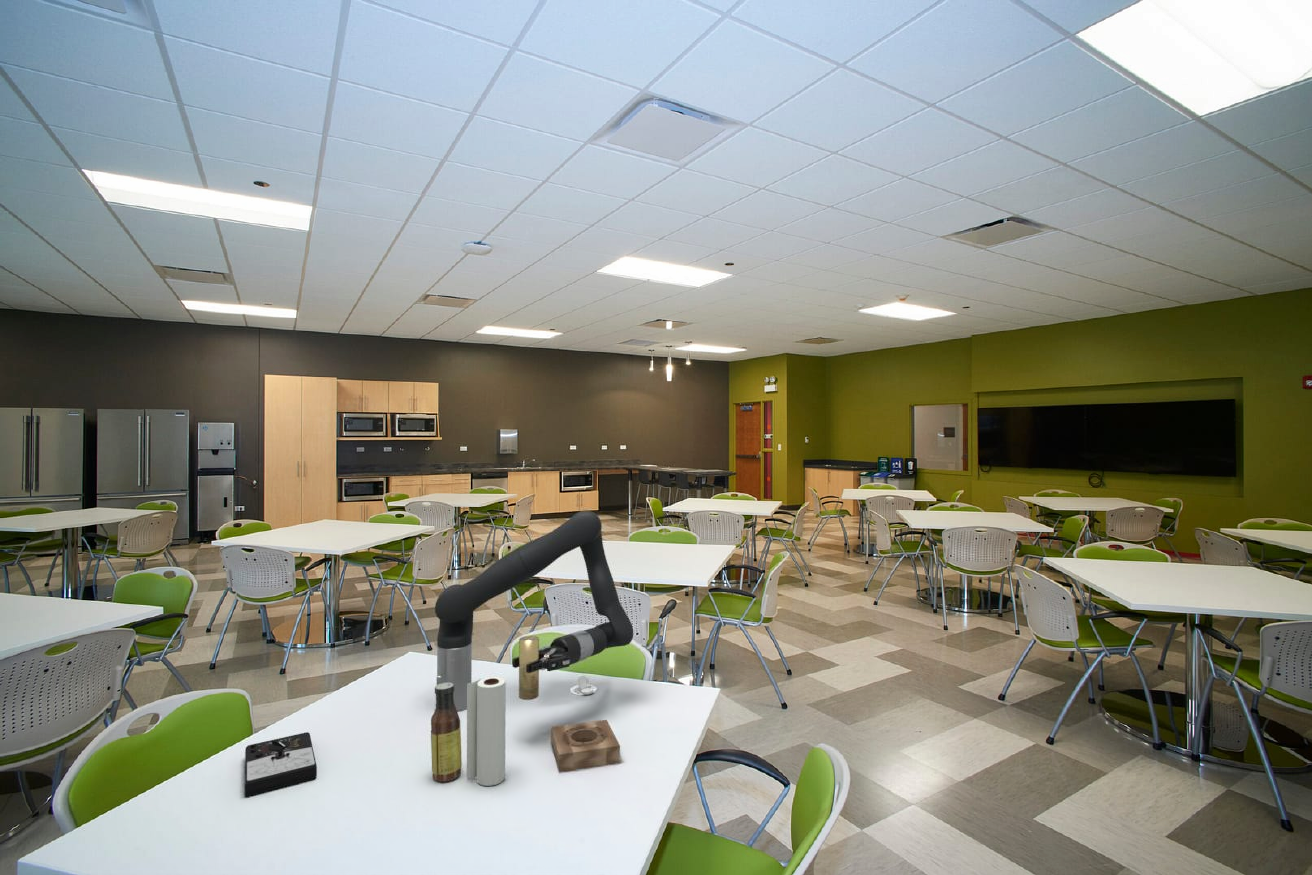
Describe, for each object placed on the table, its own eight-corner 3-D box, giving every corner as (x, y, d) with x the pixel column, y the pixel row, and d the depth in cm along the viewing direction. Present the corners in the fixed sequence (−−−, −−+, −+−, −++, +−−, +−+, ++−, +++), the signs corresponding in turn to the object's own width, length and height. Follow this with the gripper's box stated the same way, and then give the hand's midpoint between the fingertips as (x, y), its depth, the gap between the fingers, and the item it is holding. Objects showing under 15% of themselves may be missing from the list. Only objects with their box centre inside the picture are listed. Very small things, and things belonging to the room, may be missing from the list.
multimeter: (309, 745, 150) (309, 725, 150) (316, 781, 134) (317, 758, 134) (245, 760, 143) (245, 739, 143) (244, 800, 127) (244, 776, 127)
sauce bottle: (467, 771, 137) (467, 682, 138) (449, 785, 132) (449, 692, 132) (443, 766, 140) (443, 678, 140) (424, 780, 134) (424, 688, 134)
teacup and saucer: (594, 697, 179) (594, 683, 179) (567, 697, 179) (567, 683, 179) (598, 685, 187) (598, 672, 187) (572, 685, 188) (572, 672, 188)
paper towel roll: (511, 775, 136) (511, 678, 136) (492, 789, 130) (493, 688, 130) (485, 768, 139) (485, 673, 139) (466, 781, 133) (466, 682, 133)
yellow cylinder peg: (519, 700, 148) (520, 642, 148) (518, 692, 153) (518, 636, 153) (539, 698, 149) (540, 640, 149) (537, 690, 154) (537, 634, 154)
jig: (558, 772, 137) (558, 754, 137) (550, 743, 150) (550, 726, 150) (619, 762, 141) (619, 745, 141) (606, 735, 154) (606, 719, 154)
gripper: (554, 628, 167) (502, 644, 154) (591, 639, 157) (539, 657, 144) (554, 656, 167) (502, 674, 153) (591, 669, 157) (539, 689, 144)
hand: (520, 665), depth 149 cm, fingers closed on yellow cylinder peg, 4 cm apart
